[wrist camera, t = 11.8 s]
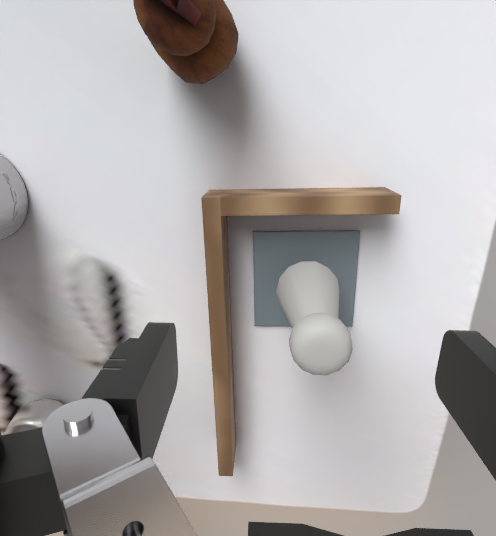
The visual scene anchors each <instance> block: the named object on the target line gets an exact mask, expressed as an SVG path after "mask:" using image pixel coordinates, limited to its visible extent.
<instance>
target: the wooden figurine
mask: <svg viewBox="0 0 496 536" xmlns="http://www.w3.org/2000/svg"><path fill="white" fill-rule="evenodd" d="M134 8H135V11H136V15H137V19H138V21H139V23H140V25H141V27H142V29H143V31H144V32H145V34H146V35H147V36H148V39H149V40H150V42H151V44H152V45H153V47H154V48H155V50H156V51H157V53H158V54H159V55H160V57H161V58H162V59H163V60H164V61H165V62H166V64H167V65H168V66H169V67H170V68H171V69H172V70H173V71H174V72H175V73H176V74H177V75H178V76H179V77H181V78H182V79H183V80H184V81H185V82H188V83H200V84H203V83H205V82H207V81H209V80H211V79H213V78H215V77H216V76H218V75H219V74H220V73H221V72H222V71H223V70H224V69H226V68H227V67H228V65H229V63H230V62H231V60H232V58H233V57H234V55H235V53H236V49H237V42H238V31H237V28H236V25H235V23H234V20H233V17H232V14H231V13H230V11H229V9H228V7H227V6H226V4H225V2H224V1H223V0H134Z"/></svg>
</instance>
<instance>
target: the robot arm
mask: <svg viewBox="0 0 496 536" xmlns="http://www.w3.org/2000/svg"><path fill="white" fill-rule="evenodd" d="M27 209H28V198H27V192H26V188H25V185H24V182H23V180H22V179H21V177H20V175H19V173H18V172H17V170H16V169H15V168H14V166H13V165H12V164H11V163H10V162H9V161H8V160H7V159H6V158H5V157H4V156H3V155H1V154H0V240H1V239H4V238H6V237H8V236H10V235H12V234H14V233H15V232H16V231H17V230H18V229H19V228H20V227H21V225H22V224H23V222H24V220H25V217H26V214H27ZM177 379H178V361H177V344H176V329H175V325H174V323H152V322H149V323H148V324H147V326H146V327H145V329H144V331H143V332H142V334H141V336H140V337H139V338H129V339H128V340H127V341H125V342H124V343H122V344H121V345H119V346H118V347H116V349H115V350H114V352H113V353H112V355H111V356H110V358H109V360H108V361H107V362H106V364H105V365H104V366H103V370H101V371H100V372H99V374H98V375H97V377H96V378H95V380H94V381H93V383H92V384H91V386H90V387H89V389H88V390H87V391H86V393H85V394H84V396H83V397H82V399H80V400H76V401H72V402H70V403H67V404H65V405H63V406H61V407H59V408H58V409H56V410H55V411H54V412H52V413H51V414H50V415H49V416H48V417H47V419H46V420H45V422H44V424H43V427H40V428H36V429H32V430H27V431H21V432H16V433H11V434H6V435H1V431H0V536H45V535H49V534H52V533H56V532H60V531H63V534H64V536H197V534H196V532H195V531H194V529H193V527H192V525H191V524H190V522H189V520H188V519H187V517H186V515H185V514H184V512H183V510H182V508H181V507H180V505H179V503H178V502H177V500H176V498H175V496H174V495H173V493H172V491H171V490H170V488H169V486H168V485H167V483H166V481H165V479H164V478H163V476H162V474H161V473H160V471H159V469H158V468H157V466H156V464H155V463H154V461H153V460H152V458H153V455H154V453H155V450H156V447H157V444H158V441H159V438H160V435H161V432H162V429H163V426H164V423H165V420H166V417H167V414H168V411H169V408H170V405H171V402H172V399H173V396H174V393H175V390H176V386H177ZM435 385H436V390H437V394H438V396H439V398H440V399H441V401H442V402H443V404H444V405H445V407H446V408H447V410H448V411H449V413H450V414H451V416H452V417H453V419H454V420H455V421H456V423H457V424H458V426H459V427H460V429H461V430H462V432H463V433H464V435H465V436H466V438H467V439H468V441H469V442H470V443H471V445H472V446H473V448H474V449H475V451H476V452H477V454H478V455H479V457H480V458H481V459H482V461H483V463H484V464H485V465H486V467H487V468H488V470H489V471H490V473H491V474H492V476H493V477H494V479H495V480H496V348H495V347H494V346H493V345H492V344H491V343H490V342H489V341H487V340H486V339H485V338H484V337H483V336H482V335H481V334H480V333H478V332H477V331H459V330H449V331H447V332H446V333H445V334H444V337H443V341H442V346H441V351H440V356H439V361H438V366H437V371H436V376H435ZM248 525H249V526H248V536H343V535H339V534H336V533H333V532H329V531H326V530H322V529H318V528H315V527H312V526H308V525H305V524H292V523H264V522H249V524H248ZM386 536H474V535H473V534H472V532H471V530H451V529H425V528H424V529H423V528H414V529H410V530H406V531H402V532H398V533H394V534H390V535H386Z"/></svg>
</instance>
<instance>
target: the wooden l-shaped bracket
mask: <svg viewBox="0 0 496 536" xmlns="http://www.w3.org/2000/svg"><path fill="white" fill-rule="evenodd" d="M400 202H401V195H400V194H397V193H395V192H393V191H391V190H389V189H387V188H385V187H379V188H310V189H240V190H209V191H208V192H207V193H206V194H205V195H204V196H203V197H202V211H203V227H204V243H205V259H206V275H207V292H208V308H209V324H210V340H211V356H212V372H213V388H214V404H215V420H216V437H217V453H218V469H219V476H233V468H234V458H235V449H236V432H235V408H234V383H233V358H232V334H231V309H230V284H229V260H228V235H227V216H259V215H351V214H399V211H400Z"/></svg>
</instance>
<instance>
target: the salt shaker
mask: <svg viewBox="0 0 496 536" xmlns="http://www.w3.org/2000/svg"><path fill="white" fill-rule="evenodd" d="M276 293H277V297H278V301H279V304H280V306H281V308H282V310H283V312H284V313H285V315H286V317H287V319H288V321H289V323H290V324H291V326H292V328H293V329H292V332H291V335H290V339H289V346H290V350H291V353H292V357H293V359H294V361H295V362H296V363H297V364H298V366H299V367H300V368H301V369H302V370H304V371H307V372H309V373H311V374H314V375H328V374H331V373H333V372H336V371H338V370H340V369H341V368H342V367H343V366H344V365H345V364H346V363H347V362H348V361H349V358H350V355H351V353H352V342H351V336H350V332H349V330H348V329H347V327H346V326H345V325H344V324H343V323H342V321H341V320H340V319H338V314H339V293H340V291H339V285H338V278H337V277H336V276H335V275H334V274H333V273H332V271H331V270H330V269H329V268H328V267H326V266H324V265H322V264H320V263H318V262H316V261H301V262H299V263H296V264H294V265H292V266H289V267H288V268H287V269H286V270H285V272H284V273H283V274H282V275H281V276H280V278H279V282H278V286H277V290H276Z"/></svg>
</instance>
